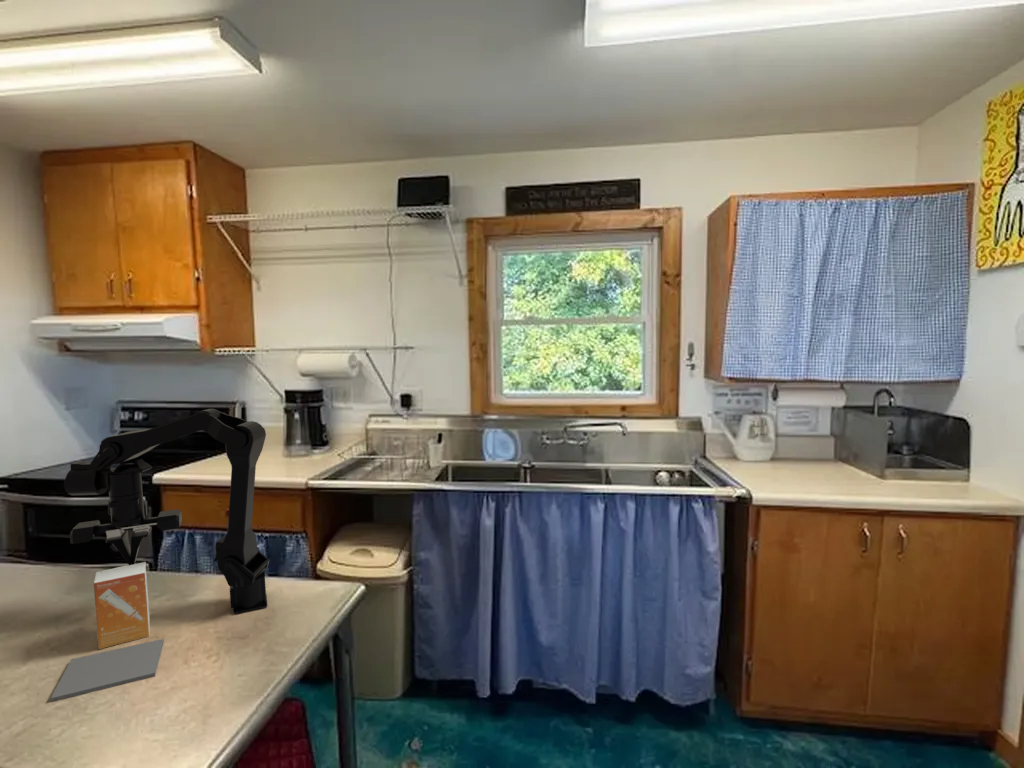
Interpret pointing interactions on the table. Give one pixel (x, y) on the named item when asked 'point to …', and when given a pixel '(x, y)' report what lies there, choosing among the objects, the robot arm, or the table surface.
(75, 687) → the mat
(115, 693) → the table surface
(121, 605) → the small box
